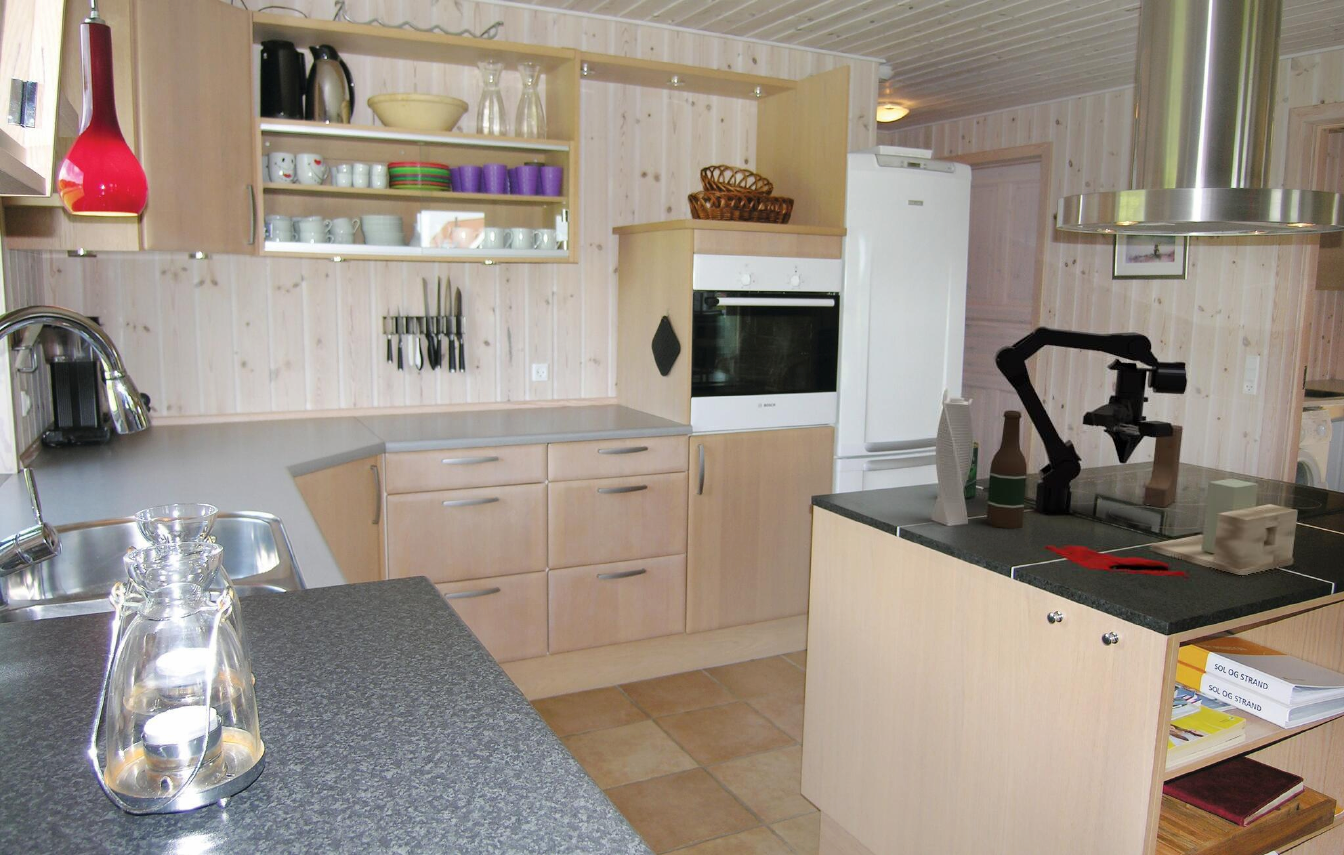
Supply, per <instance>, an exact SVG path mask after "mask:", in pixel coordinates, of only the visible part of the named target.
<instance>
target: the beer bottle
mask: <svg viewBox="0 0 1344 855" xmlns="http://www.w3.org/2000/svg"><path fill="white" fill-rule="evenodd" d="M1022 417H1023V415H1022V412H1021V411H1019V410H1005V411H1004V413H1003V418H1004V421H1003V430H1002V436H1001V442H1000V446H999V448H998V450H997V451H996V453H995V454H994V456H993V457H992V460H991V462H990V463H991V464H990V470H989V479H988V494H987V507H986V524H987V525H990V526H992V527H996V528H1002V529H1003V528H1005V529H1018V528H1022V527H1023V521H1024V515H1025V514H1024V511H1025V500H1026V488H1027V487H1026V486H1027V473H1028V472H1027V470H1028V468H1027V464H1028V463H1027V460H1026V457H1025V455H1024V454H1023V452H1022V450H1021V444H1020V443H1021V442H1020V441H1021V440H1020V438H1021V437H1020V432H1021V430H1020V428H1021V427H1020V426H1021V424H1020V423H1021V418H1022Z"/></svg>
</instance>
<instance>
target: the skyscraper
mask: <svg viewBox="0 0 1344 855" xmlns="http://www.w3.org/2000/svg"><path fill="white" fill-rule="evenodd" d="M942 394H943V395H942V402H941V405H942V409H941V413H940V418H939V422H938V425H937V426H938V428H937V432H936V433H937V434H936V440H935V466H936V467H935V468H936V477H937V484H938V493H937V497H936V500H935V505H934V508H933V512H932V516H931V521H935V522H937V523H939V524H942V525H944V526H947V527H950V526H960V525H968V524H969V519H968V513H967V505H966V499H965V498H964V492H963V490H964V487H965V484H966V481H967V478H968V475H969V471H970V467H971V462H972V456H973V448H974V442H975V440H974V439H975V437H974V436H975V435H974V434H975V432H974V430H975V429H974V420H973V412H972V404H973V403H974V402H973V401H974V400H973V398H970V399H969V400H968V401H965V398H964V397H956V396H955V397H953V396H952V397H950V398H949V399H948V396H949V395H948V394H949V390H948V388H945V389H944V391H943V393H942Z"/></svg>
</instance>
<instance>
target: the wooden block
mask: <svg viewBox="0 0 1344 855" xmlns="http://www.w3.org/2000/svg"><path fill="white" fill-rule="evenodd" d="M1171 425H1172V426H1173V436H1170V437H1157V438H1155V444H1154V445H1155V446H1154V453H1153V454H1154V455H1153V462H1152V472H1151V476H1150V479H1149V482H1148V483H1147V484H1146V485H1145V487H1144V488H1145V489H1144V498H1143V504H1144V505H1145V504H1149V505H1153V506H1152V507H1155V506H1159V507H1158V508H1162V507H1163V509H1165V508H1166V507H1168V506H1169V505H1171V504H1172V503H1175V501H1176V495H1177V485H1178V478H1179V468H1180V467H1179V466H1180V457H1181V449H1182V448H1181V447H1182V439H1183V429H1184V427H1183V426H1182V425H1178V424H1177V425H1176V424H1171ZM1149 505H1148V506H1149Z"/></svg>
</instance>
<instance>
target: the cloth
mask: <svg viewBox="0 0 1344 855" xmlns="http://www.w3.org/2000/svg"><path fill="white" fill-rule="evenodd" d="M1044 547H1045V548H1046V549H1048V550H1049V551H1051V552H1053V553H1055V554H1057V555H1059V556H1060V557H1062V558H1064V559H1065V560H1068V561H1069V562H1073V563H1076V564H1077V565H1079V566H1081V567H1083V568H1086V567H1087V568H1086V569H1090V570H1099V569H1103V570H1102V571H1104V570H1106V572H1112V571H1128V573H1127V574H1135V573H1142V574H1141V575H1149V574H1151V575H1150V576H1164V575H1169V576H1168V577H1174V576H1173V575H1176V576H1177V575H1179V576H1183V577H1182V578H1186V577H1189V575H1186V573H1185V572H1183V571H1181V570H1176V571H1169V570H1170V565H1169V564H1167V563H1164V562H1163V561H1158V560H1151V559H1146V558H1141V557H1133V556H1129V557H1127V558H1125V557H1121V556H1120V557H1119V556H1115V555H1112V554H1109V553H1101V552H1098V551H1095V550H1092V549H1090V548H1088V547H1087V546H1083V545H1081V546H1080V545H1079V546H1078V545H1066V546H1062V547H1060V548H1057V547H1055V546H1054V545H1044ZM1122 566H1123V567H1122ZM1114 567H1118V568H1121V569H1118V570H1111V569H1113V568H1114ZM1127 567H1134V568H1136V567H1137V568H1140V567H1141V568H1153V567H1154V568H1161V569H1153V570H1154V571H1151V570H1152V569H1141V570H1139V571H1140V572H1139V571H1137V570H1130V569H1131V568H1128V569H1127ZM1122 568H1124V569H1122ZM1164 568H1165V570H1163V571H1162V569H1164ZM1168 569H1169V570H1168ZM1158 570H1160V571H1158ZM1153 574H1154V575H1153Z"/></svg>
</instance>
